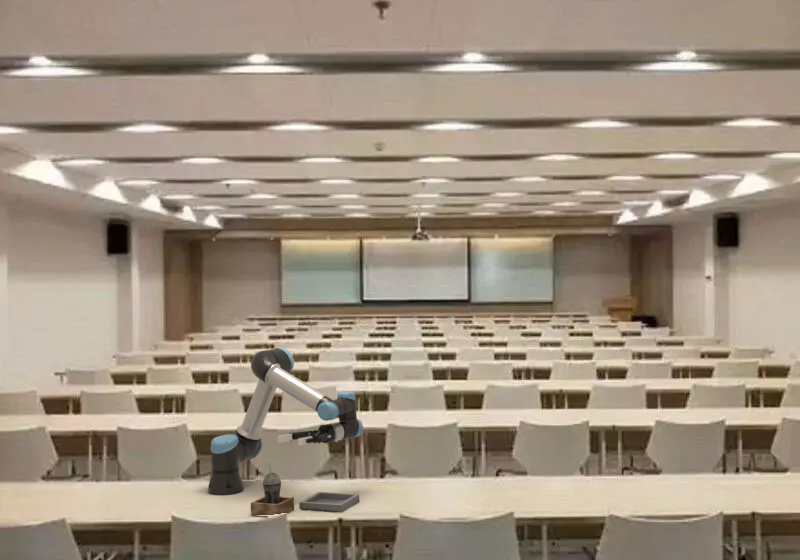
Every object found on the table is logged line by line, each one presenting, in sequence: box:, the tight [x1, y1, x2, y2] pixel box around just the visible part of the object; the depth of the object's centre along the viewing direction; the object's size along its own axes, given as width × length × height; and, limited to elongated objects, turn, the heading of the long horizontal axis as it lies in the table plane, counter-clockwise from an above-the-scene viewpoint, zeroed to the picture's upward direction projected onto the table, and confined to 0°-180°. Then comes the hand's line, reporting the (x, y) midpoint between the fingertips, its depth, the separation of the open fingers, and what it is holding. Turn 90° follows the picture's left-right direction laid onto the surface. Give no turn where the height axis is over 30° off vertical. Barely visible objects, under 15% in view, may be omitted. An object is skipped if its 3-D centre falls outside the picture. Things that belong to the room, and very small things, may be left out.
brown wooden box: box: [250, 495, 295, 516], centre depth 382 cm, size 12×12×5 cm
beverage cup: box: [262, 462, 282, 504], centre depth 382 cm, size 7×7×20 cm
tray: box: [298, 491, 360, 513], centre depth 391 cm, size 18×18×3 cm
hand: (288, 440), depth 389 cm, fingers open, 13 cm apart
